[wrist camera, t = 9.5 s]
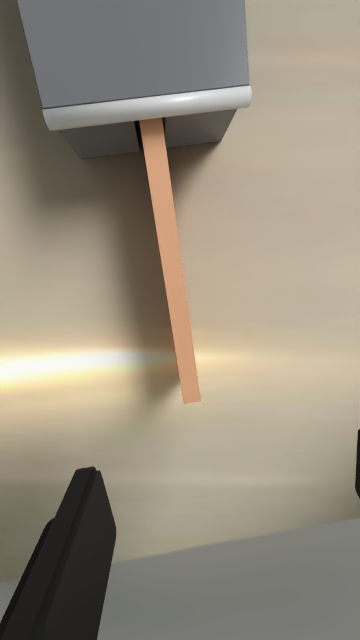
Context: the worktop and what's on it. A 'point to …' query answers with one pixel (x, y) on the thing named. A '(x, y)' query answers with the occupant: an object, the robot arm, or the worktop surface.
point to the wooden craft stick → (170, 253)
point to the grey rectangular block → (138, 69)
